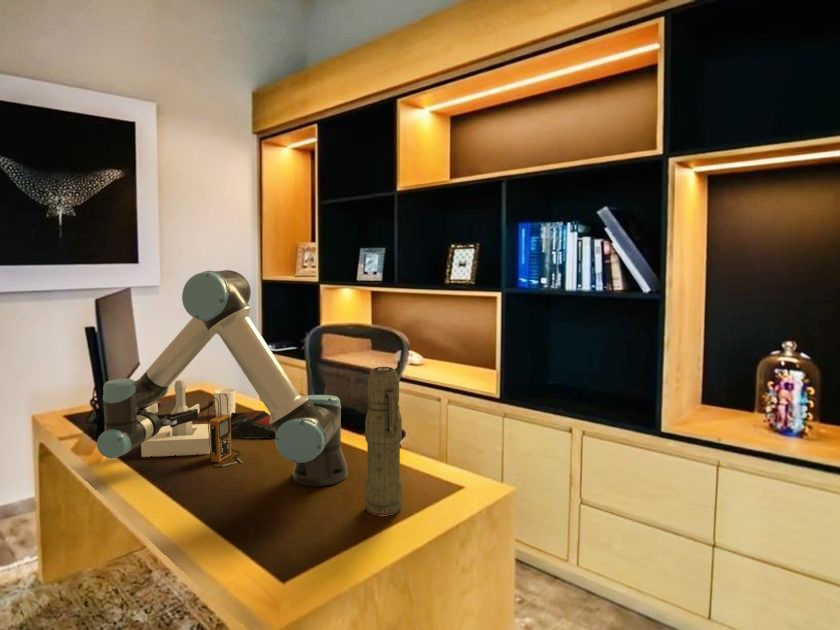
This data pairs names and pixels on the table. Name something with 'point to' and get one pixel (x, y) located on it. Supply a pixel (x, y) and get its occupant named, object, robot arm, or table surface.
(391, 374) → the thermos
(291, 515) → the table surface
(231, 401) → the white cup
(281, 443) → the robot arm
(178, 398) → the low poly bottle
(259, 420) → the drone shell
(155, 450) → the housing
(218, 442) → the multimeter
